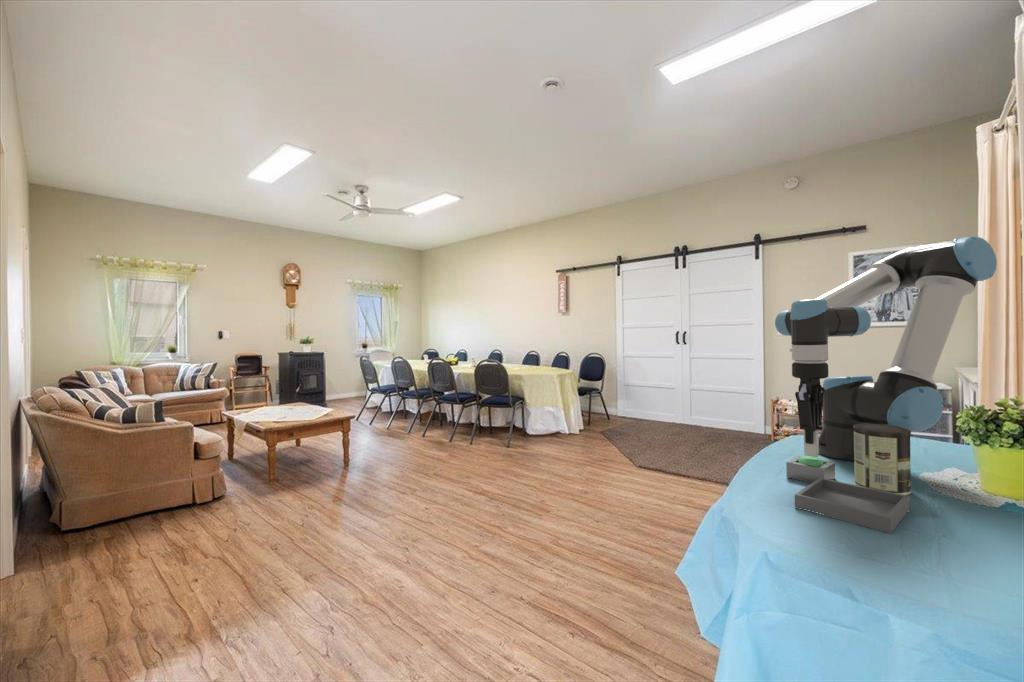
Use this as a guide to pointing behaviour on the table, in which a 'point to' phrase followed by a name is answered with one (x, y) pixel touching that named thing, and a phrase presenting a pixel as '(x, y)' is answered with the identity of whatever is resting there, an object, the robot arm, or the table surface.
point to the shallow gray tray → (854, 504)
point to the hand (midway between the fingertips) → (811, 455)
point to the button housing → (809, 470)
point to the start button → (811, 461)
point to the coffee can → (882, 457)
